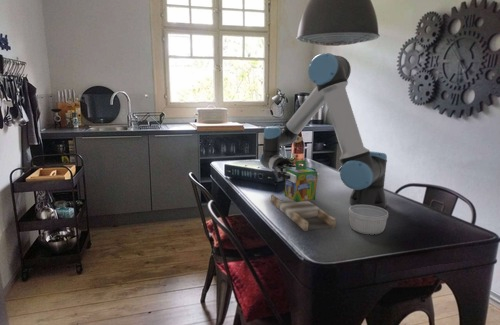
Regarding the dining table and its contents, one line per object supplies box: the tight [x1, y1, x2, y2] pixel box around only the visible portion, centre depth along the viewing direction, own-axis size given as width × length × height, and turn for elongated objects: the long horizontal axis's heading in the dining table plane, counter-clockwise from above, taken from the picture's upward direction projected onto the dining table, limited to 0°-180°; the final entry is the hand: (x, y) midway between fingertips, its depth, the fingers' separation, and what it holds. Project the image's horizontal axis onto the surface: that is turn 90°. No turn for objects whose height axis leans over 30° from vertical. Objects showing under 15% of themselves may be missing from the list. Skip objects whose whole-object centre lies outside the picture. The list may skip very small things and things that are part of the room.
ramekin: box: [348, 205, 389, 236], centre depth 122 cm, size 13×13×7 cm
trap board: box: [270, 194, 337, 232], centre depth 137 cm, size 33×12×3 cm, turn 18°
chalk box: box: [284, 159, 318, 202], centre depth 134 cm, size 9×9×15 cm
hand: (307, 178), depth 130 cm, fingers closed on chalk box, 9 cm apart
